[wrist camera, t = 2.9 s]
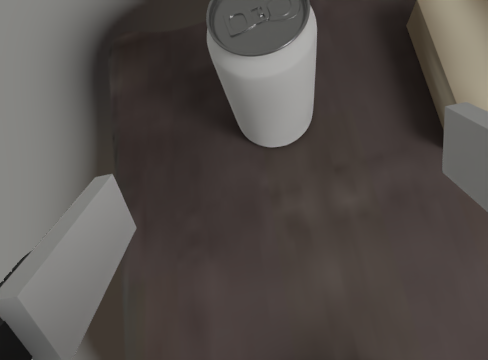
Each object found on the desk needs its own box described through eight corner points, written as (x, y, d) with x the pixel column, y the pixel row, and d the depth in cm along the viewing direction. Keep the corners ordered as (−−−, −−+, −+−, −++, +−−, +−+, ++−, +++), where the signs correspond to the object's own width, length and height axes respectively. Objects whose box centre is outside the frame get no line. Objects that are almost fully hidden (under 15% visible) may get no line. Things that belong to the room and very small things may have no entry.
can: (324, 133, 29) (338, 34, 17) (250, 160, 29) (216, 80, 18) (297, 71, 31) (293, -54, 19) (228, 96, 31) (185, -12, 20)
